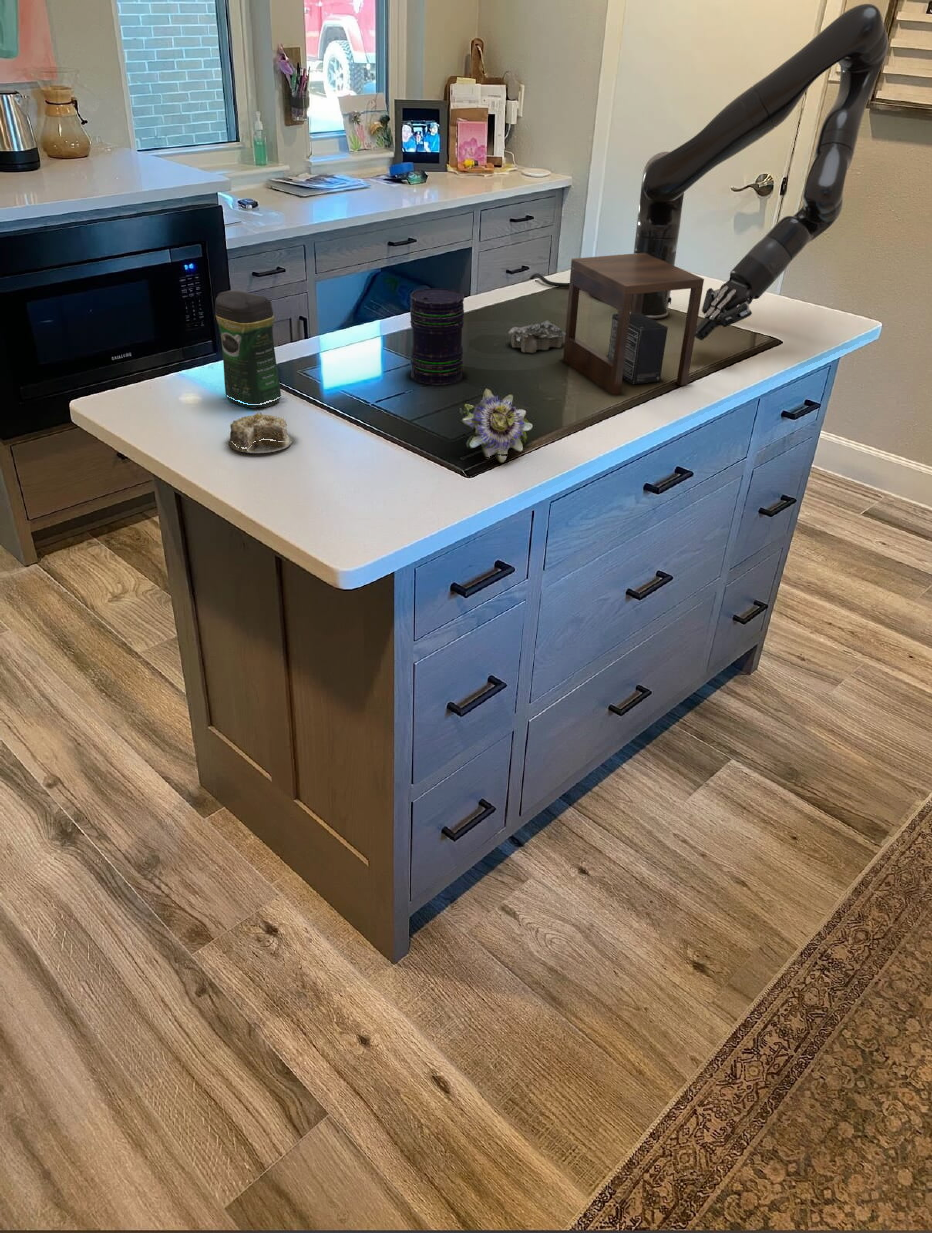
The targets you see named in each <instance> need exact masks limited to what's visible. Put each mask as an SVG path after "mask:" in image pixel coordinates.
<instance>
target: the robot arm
mask: <svg viewBox="0 0 932 1233" xmlns="http://www.w3.org/2000/svg"><path fill="white" fill-rule="evenodd" d="M888 50H889V37H888V32H887V29H886V26H885V22H884V18H883V16H882V12H881V11H880V9H879V8H878V6H876V5H875V4H872V3H861V4H858V5H856V6H853V7H852V8H849V9H848V10H846V11H844V12H843V13H842V14H840V15H839V16H838V17H837V18H835V19H834V20H833V21H832V22H831V23H830V24H829V25H827V26H826V27H825V28H824V29H823V30H822V31H820V32H819V33H818V34H817V35H816V36H815V37H814V38H813V39H811V40H810V41H809V42H808V43H806V45H805V46H803V47H802V48H801V49H799V51H797V52H796V53H795V54H794V55H792V56H791V57H790V58H788V59H787V60H785V61H784V62H783V63H781V65H779V66H778V67H777V68H775V69H774V70H772V72H770V73H769V74H768V75H766V76H765V77H763V78H762V79H760V80H759V81H757V82H756V83H754V84H753V85H752V86H750V87H749V88H747V89H746V90H745V91H743V92H742V93H741V94H740V95H738V96H737V97H735V98H734V99H733V100H731V102H729V103H728V104H727V105H726V106H725V107H724V108H723V109H721V110H720V111H719V112H718V113H717V114H716V115H714V117H713V118H712V119H711V120H710V121H709V122H708V123H707V124H706V126H705V127H703V129H701V130H700V131H699V132H698V133H697V134H695V135H694V136H693V137H692V138H690V139H689V140H687V141H686V142H684V143H682V144H681V145H680V146H678V147H677V148H675V149H673V150H671V151H661V152H658V153H656V154H654V155H653V156H651V157H650V158H649V160H648V161H647V162H646V164H645V166H644V168H643V172H642V176H641V177H642V178H641V184H640V185H641V187H640V195H639V204H638V210H637V220H636V228H635V239H634V245H633V246H634V248H633V254H636V253H646V254H649V255H651V256H653V257H655V258H658V259H660V260H662V261H664V262H667V263H669V264H671V265H674V266H675V264H676V257H677V249H678V242H679V237H680V236H679V234H680V229H681V220H682V213H683V212H682V211H683V204H684V196H685V192H687V190H689V189H690V188H691V187H692V186H693V185H694V184H695V183H696V182H698V181H699V180H701V178H703V177H704V176H706V174H707V173H709V172H710V171H711V170H713V169H714V168H715V167H717V166H718V165H720V164H722V163H723V162H725V161H727V160H729V159H730V158H732V157H733V156H735V155H737V154H739V153H740V152H742V151H743V150H745V149H746V148H749V147H750V146H751V145H752V144H754V143H756V142H757V141H759V140H760V139H761V138H763V137H765V136H766V135H767V134H769V133H770V132H772V131H773V130H775V129H776V128H778V127H779V126H780V125H781V124H782V123H783V122H784V121H785V120H786V119H787V118H788V117H789V116H790V115H791V114H792V112H793V111H794V110H795V108H796V107H797V105H799V102H800V101H801V99H802V98H803V96H804V95H805V93H806V92H807V91H808V89H809V88H810V87H811V85H812V84H813V83H814V82H815V81H816V80H817V79H818V78H819V77H820V76H821V75H823V74H824V73H825V72H827V71H828V70H829V69H831V68H832V67H833V66H834V65H836V64H838V65H839V66H840V74H839V77H840V78H839V86H838V92H837V96H836V98H835V101H834V103H833V105H832V107H831V108H830V109H829V111H828V113H827V114H826V116H825V118H824V120H823V122H822V124H821V127H820V131H819V134H818V138H817V142H816V147H815V151H814V156H813V162H812V164H811V166H810V169H809V171H808V174H807V177H806V179H805V184H804V187H803V195H802V198H803V200H802V201H803V204H802V206H801V208H800V209H799V210H798V211H797V212H796V213H795V214H793V215H786V216H784V217H782V218H781V219H780V220H778V222H776V224H775V225H774V226H773V227H772V228H771V229H770V230H769V231H768V232H767V234H766V235H764V237H763V238H761V240H759V241H757V243H755V245H754V246H752V248H751V249H750V250H749V251H748V252H747V253H746V254H745V255H744V256H743V257H742V259H741V260H740V261H739V262H738V263H737V264H736V265H735V266H734V267H733V268H732V269H731V271H730V272H729V279H728V280H727V281H726V282H724V283H723V284H722V285H720V287H719V288H717V289H713V288H712V287H710V288H708V289H707V290H706V293H705V297H704V300H703V304H702V309H701V313H702V314H703V315H704V318H703V319H702V320H701V321H700V322H699V323H697V327H696V333H695V339H698V340H699V341H703V340H704V339H706V338H707V337H709V335H710V334H711V333H712V332H713V331H714V330H715V328H719V327H721V326H722V327H723V328H727V327H729V326H732V325H734V324H735V323H738V322H740V321H743V320H744V319H746V318H747V319H748V317H750V316H751V315H752V314H753V312H752V310H751V308H750V305H751V304H752V303H753V300H758V299H760V298H761V297H762V296H763V294H765V293H766V291H767V290H768V289H769V288H770V287H771V286H772V285H773V284H774V283H775V281H776V280H778V278H779V277H780V276H781V275H782V274H783V273H784V271H785V270H786V269H787V267H788V266H789V265H790V264H791V262H792V261H793V260H794V259H795V258H796V257H797V256H798V255H799V254H800V253H801V252H802V251H803V249H804V248H805V247H806V246H807V244H809V243H810V242H813V241H814V240H815V239H816V238H818V237H819V236H821V235H822V234H823V233H824V232H825V231H827V230H828V229H829V228H830V227H831V226H832V225H833V224H834V223H835V222H836V220H837V219H838V218H839V216H840V214H841V213H842V210H843V204H844V203H843V202H844V201H843V200H844V199H843V198H844V187H845V182H846V177H847V172H848V170H849V169H850V167H851V164H852V161H853V158H854V154H855V150H856V145H857V141H858V137H859V134H860V129H861V125H862V120H863V117H864V113H865V110H866V108H867V104H868V101H869V99H870V96H871V94H872V91H873V88H874V86H875V83H876V80H877V78H878V77H879V73H880V71H881V69H882V66H883V64H884V62H885V59H886V56H887V53H888ZM536 278H538V279H539V280H540V281H541V282H542V283H544V284H545V285H548V286H551V287H557V288H569V285H570V282H558V281H557V282H556V281H551V280H549V279H547V278H546V277H544V276H543V275H542V274H541V273H538V272H534V273H532V275H530V277H529V278H528V279H529V280H534V279H536ZM671 292H672V290H671V291H661V292H650V293H644V296H643V304H642V312H641V314H643V315H645V316H647V317H649V318H651V319H653V320H661V319H665V318H667V317H668V316H669V306H670V305H672V297H671ZM632 300H633V294H632ZM599 301H600V302H603V301H601V300H599ZM603 303H604V302H603ZM631 309H632V302H631ZM630 313H631V310H630Z"/></svg>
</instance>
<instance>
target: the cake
mask: <svg viewBox="0 0 932 1233" xmlns="http://www.w3.org/2000/svg"><path fill="white" fill-rule="evenodd" d="M286 421H287V420H285V419H284V418H282V417H279V416H277V415H272V414H262V412H259V413H256V414H253V415H246V416H242V417H241V418H238V419H237V420H233V421H232V423H231V424H230V425H229V426H230V432H229V437H230V438H229V441H228V446H229V447H230V448H231V449H233V450H234V451H236V452H241V453H244V454H245V453H247V454H267V453H274V452H278V451H281V450H285V449H286V448H288V447H289V446H290V445H291V444H292V443H293V440H292V438H291V437H290V436H289V435H288V430H287V426H288V424H287V422H286ZM286 437H287V438H286ZM263 438H264V439H273V440H276V441H270V440H261V439H263ZM285 439H286V441H285ZM259 440H261V441H259ZM231 441H233V443H234V444H236V446H237V447H236V446H235V445H234V444H233V443H232V442H231ZM254 441H256V442H254ZM278 441H285V442H278ZM253 442H254V443H253ZM251 445H252V446H251ZM250 446H251V447H250ZM238 447H239V448H238ZM241 447H244V448H245V447H247V449H248V448H249V447H250V448H249V449H248V450H247V449H242V448H241Z"/></svg>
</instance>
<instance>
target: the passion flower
mask: <svg viewBox="0 0 932 1233" xmlns="http://www.w3.org/2000/svg"><path fill="white" fill-rule="evenodd" d="M513 400H514V396H513V394H508V395H506V396H504V397H503V398H502V399H499V395H493V393H492V391H491V390H490V389H488V388H485V390H484V391H483V394H482V400H480V402H478V403H476V404H475V405H472V404H468V403H465V404H464V405H463V409H462V408H461V407H459V409H458V413H459V414H460V416H461V418H462V419H461V420H460V423H462V424H463V425H465V426H467V427H469V428H471V430H472V432H473V435H471V436H470V437H469V439H468V440H467V441H466V447H467V449H474V448H477V447H478V446H481V450H482V453H483V456H484V458H485V459H486V460H489V459H491V457H493V456H492V455H495V454H496V455H497V454H507V456H501V455H500V456H494V457H495V458H496V460H497V461H498V462H499V463H501V464H502V463H504V462H505V461H506V460H507V457H508V450H510V448H511V449H513V450H514V451H516V452H519V453H520V452H522V451H523V450H524V447H523V446H524V445H525V444H526V442H527V439H528V436H527V433H526V432H529V431H531V430H532V429H533V427H534V426H533V423H530V422H529V421H528V420H527V419H526V418H525V416H526V414H527V411H526V410H525V409H522V408H521V409H520V408H519V409H518V407H516V406H512V405H516V404H515V403H513ZM473 408H474V410H473V411H472V412H470V410H472V409H473ZM466 414H467V415H466ZM490 456H491V457H490ZM486 457H489V458H486Z"/></svg>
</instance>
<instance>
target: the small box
mask: <svg viewBox="0 0 932 1233" xmlns="http://www.w3.org/2000/svg"><path fill="white" fill-rule="evenodd" d="M618 314H619V313H613V314H612V316H611V329H610V336H609V337H610V338H609V344H608V354H607V357H608V358H609V359H611V360H612V361H613V358H614V350H615V341H616V332H617V323H618ZM668 329H669V327H668V326H667V325H664V324H663V323H660V322H659V321H657V320H656V319H651V318H649V317H647V316H645V315H643V314H641V313H630V319H629V327H628V335H627V344H626V352H625V360H624V369H623V377H622V379H624V380H625V381H627V382H628V383H629V384H631V385H640V384H647V383H656V382H660V381H661V375H662V370H663V369H662V368H663V363H664V362H663V361H664V355H665V350H666V342H667V337H668V336H667V335H668Z"/></svg>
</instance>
